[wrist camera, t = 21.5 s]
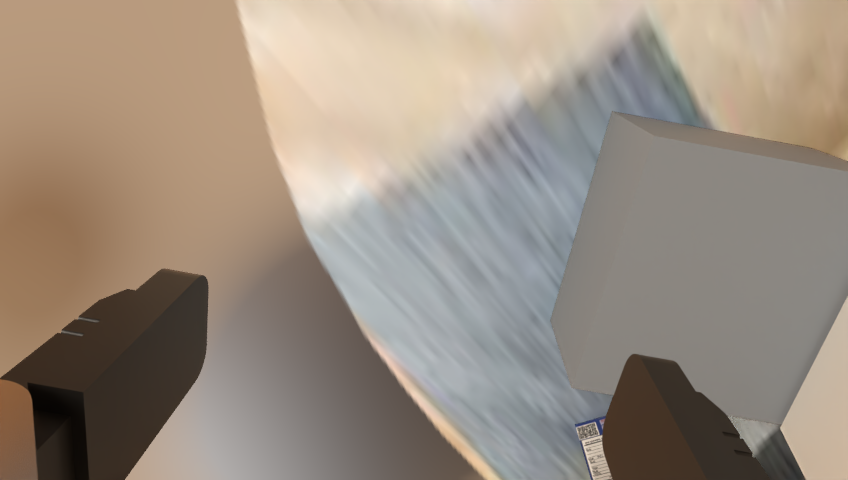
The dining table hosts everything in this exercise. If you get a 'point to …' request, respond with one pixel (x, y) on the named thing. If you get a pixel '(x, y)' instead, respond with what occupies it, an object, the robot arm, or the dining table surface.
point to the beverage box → (594, 448)
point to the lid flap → (823, 410)
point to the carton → (706, 263)
